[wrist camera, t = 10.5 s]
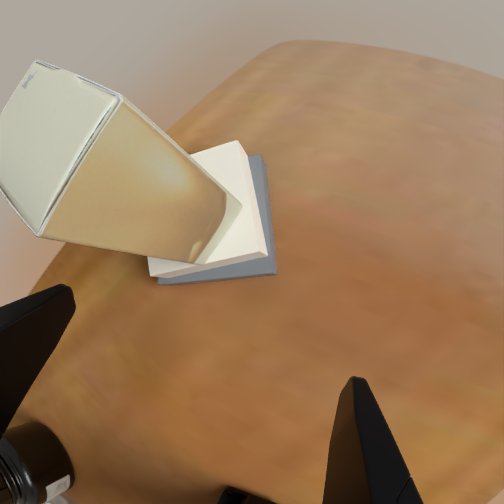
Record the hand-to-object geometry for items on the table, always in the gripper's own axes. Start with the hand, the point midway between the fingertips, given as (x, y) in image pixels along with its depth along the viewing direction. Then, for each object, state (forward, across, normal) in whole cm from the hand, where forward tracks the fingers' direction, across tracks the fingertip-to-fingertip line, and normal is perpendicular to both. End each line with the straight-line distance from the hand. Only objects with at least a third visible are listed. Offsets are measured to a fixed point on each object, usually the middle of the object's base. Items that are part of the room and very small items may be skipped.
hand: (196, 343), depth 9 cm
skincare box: (+11, +5, +2) cm, 12 cm away
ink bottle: (-1, +17, +29) cm, 34 cm away
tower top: (+13, +4, +3) cm, 14 cm away
